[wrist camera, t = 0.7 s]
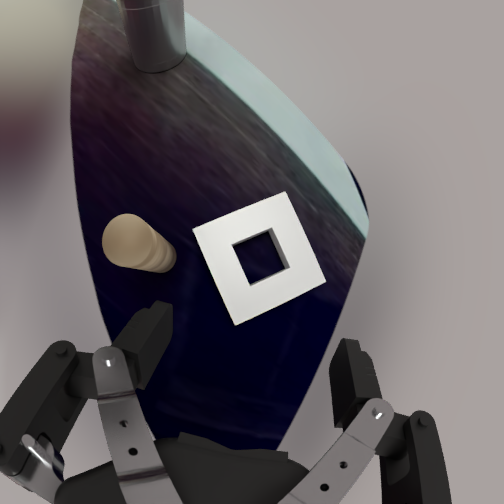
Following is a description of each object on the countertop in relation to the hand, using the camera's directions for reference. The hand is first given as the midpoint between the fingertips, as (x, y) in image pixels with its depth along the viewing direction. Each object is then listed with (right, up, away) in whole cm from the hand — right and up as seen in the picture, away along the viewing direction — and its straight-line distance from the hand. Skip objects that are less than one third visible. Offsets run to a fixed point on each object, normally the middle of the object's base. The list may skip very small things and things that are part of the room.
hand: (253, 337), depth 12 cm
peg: (-11, +3, +21) cm, 24 cm away
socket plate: (+1, +3, +22) cm, 23 cm away
